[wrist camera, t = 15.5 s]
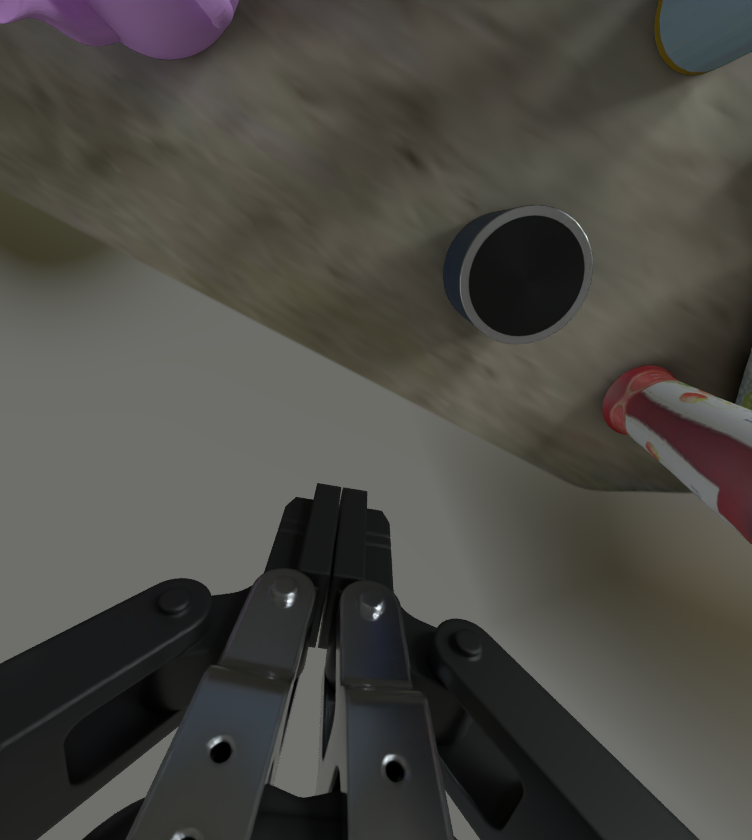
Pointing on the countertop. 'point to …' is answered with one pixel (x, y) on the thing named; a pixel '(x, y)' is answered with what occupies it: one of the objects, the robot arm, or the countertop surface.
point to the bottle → (702, 33)
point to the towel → (746, 387)
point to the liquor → (689, 438)
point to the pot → (519, 272)
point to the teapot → (132, 22)
